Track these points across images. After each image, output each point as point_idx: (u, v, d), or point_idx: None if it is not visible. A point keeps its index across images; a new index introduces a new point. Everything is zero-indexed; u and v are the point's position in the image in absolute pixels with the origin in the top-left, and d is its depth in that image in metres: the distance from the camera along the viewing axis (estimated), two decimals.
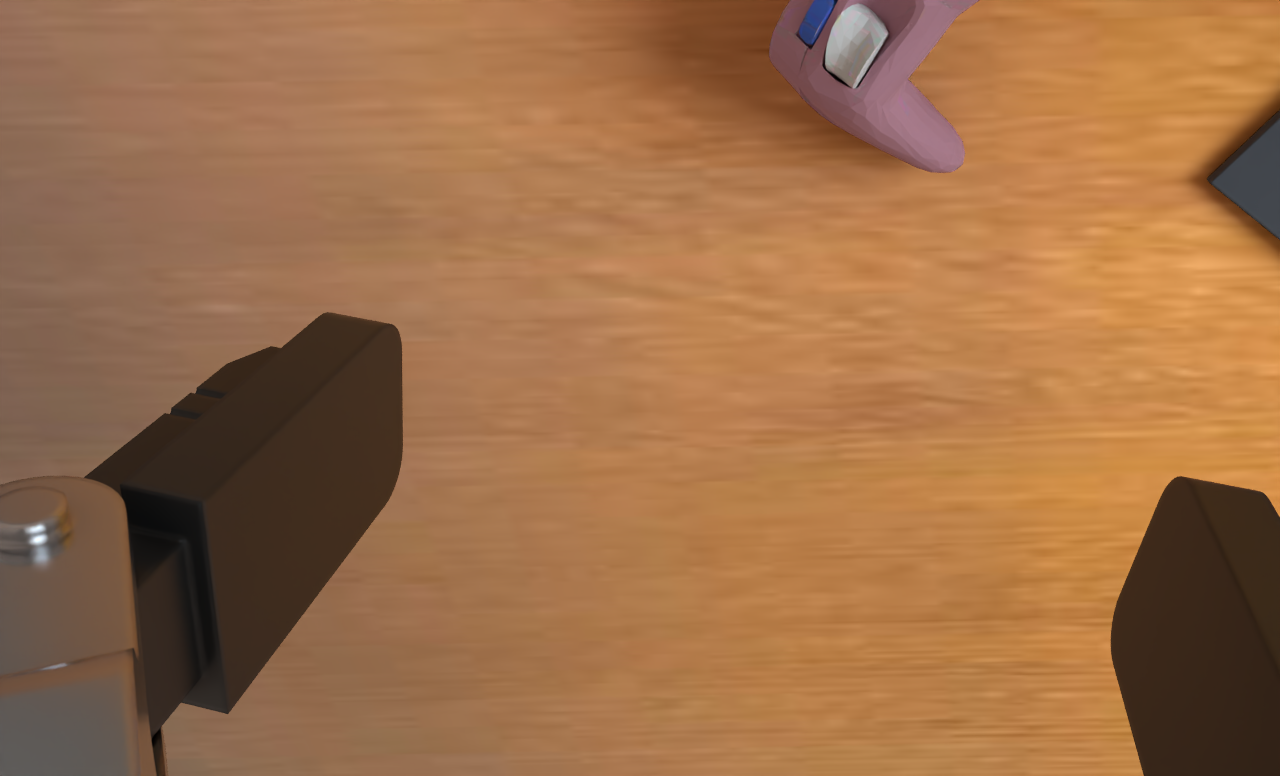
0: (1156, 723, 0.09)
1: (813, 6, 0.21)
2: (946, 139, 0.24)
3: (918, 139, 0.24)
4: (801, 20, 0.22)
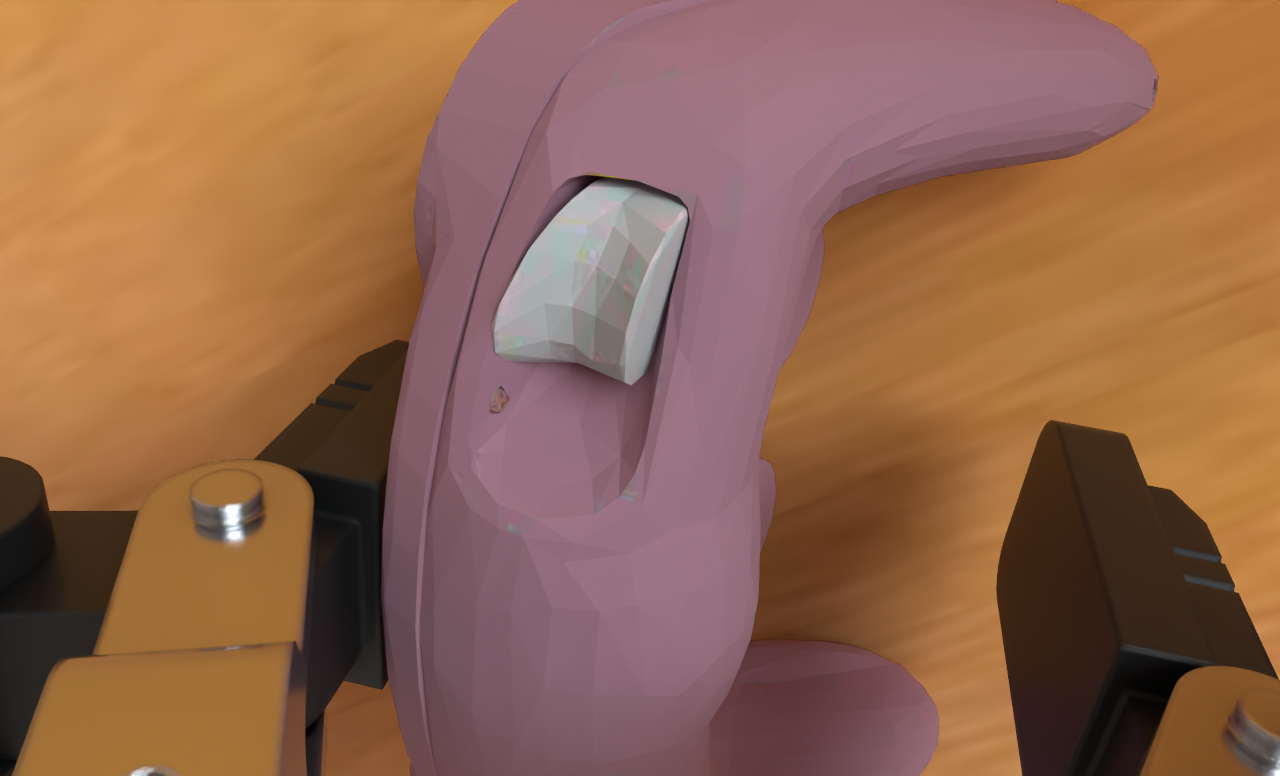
0: (1021, 646, 0.10)
1: None
2: (872, 760, 0.12)
3: None
4: None
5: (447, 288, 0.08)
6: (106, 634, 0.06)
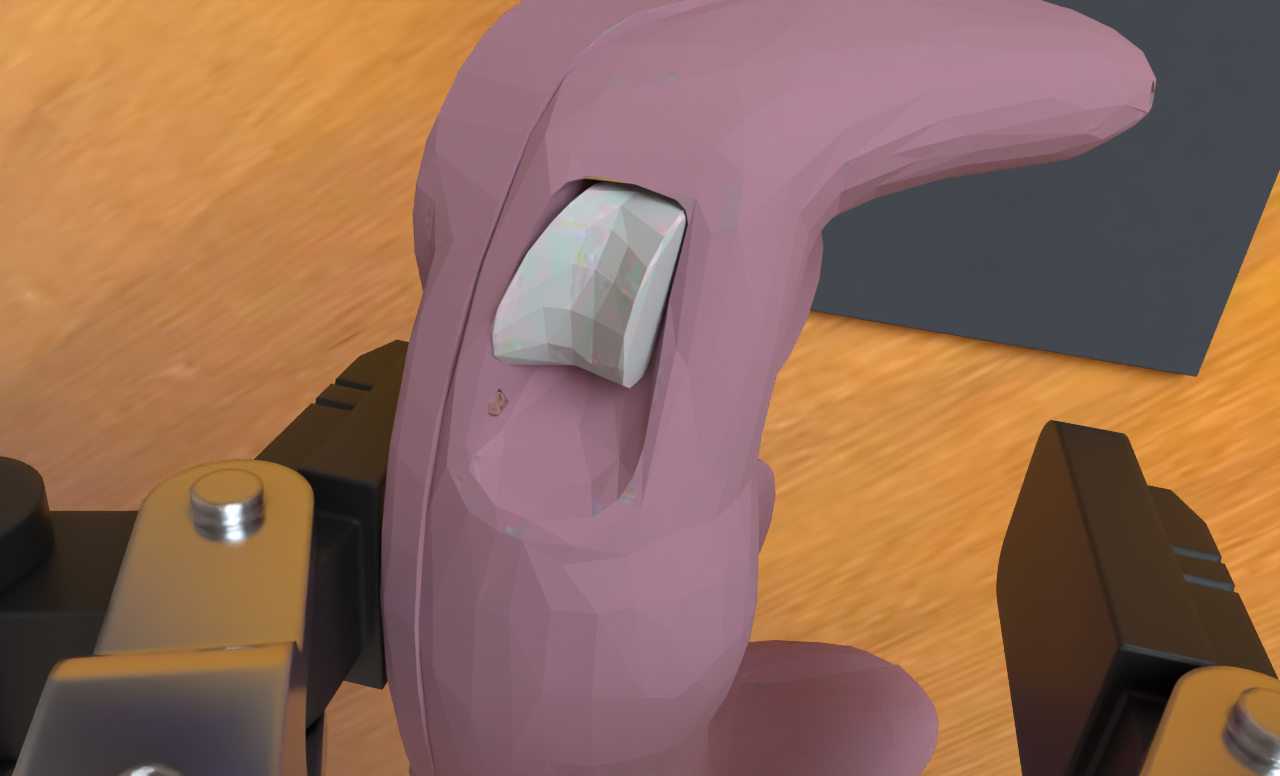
0: (1021, 646, 0.10)
1: None
2: (871, 761, 0.13)
3: None
4: None
5: (446, 291, 0.08)
6: (106, 634, 0.06)
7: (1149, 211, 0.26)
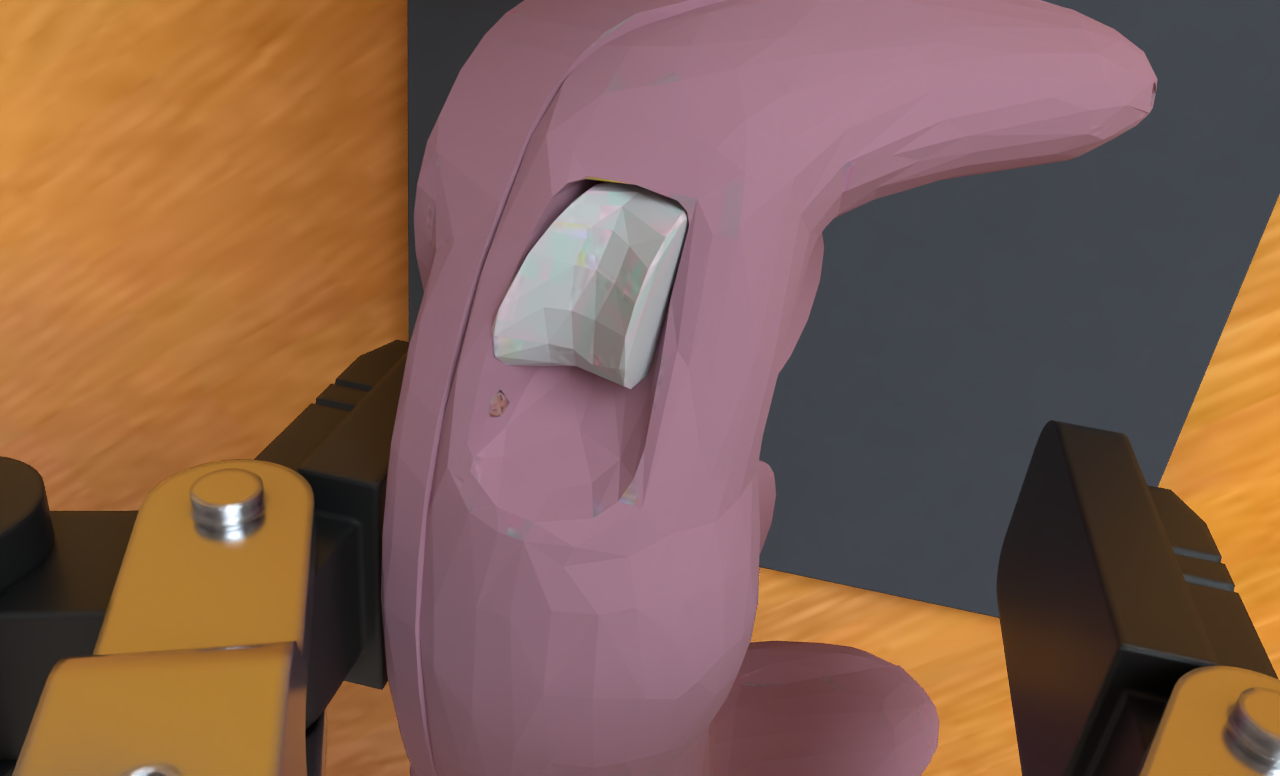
0: (1021, 646, 0.10)
1: None
2: (872, 762, 0.12)
3: None
4: None
5: (447, 292, 0.08)
6: (106, 634, 0.06)
7: (1023, 430, 0.18)
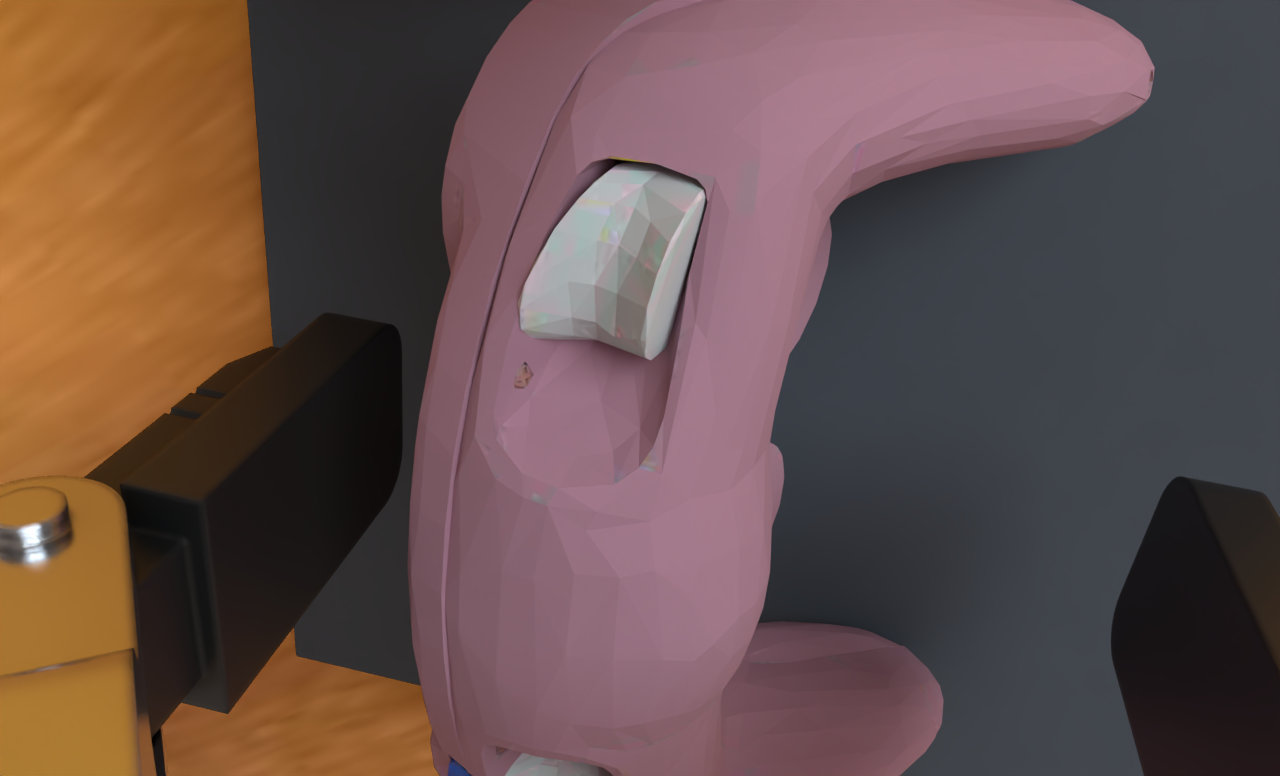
0: (1156, 722, 0.09)
1: None
2: (878, 736, 0.13)
3: None
4: None
5: (474, 268, 0.08)
6: None
7: (1073, 615, 0.14)
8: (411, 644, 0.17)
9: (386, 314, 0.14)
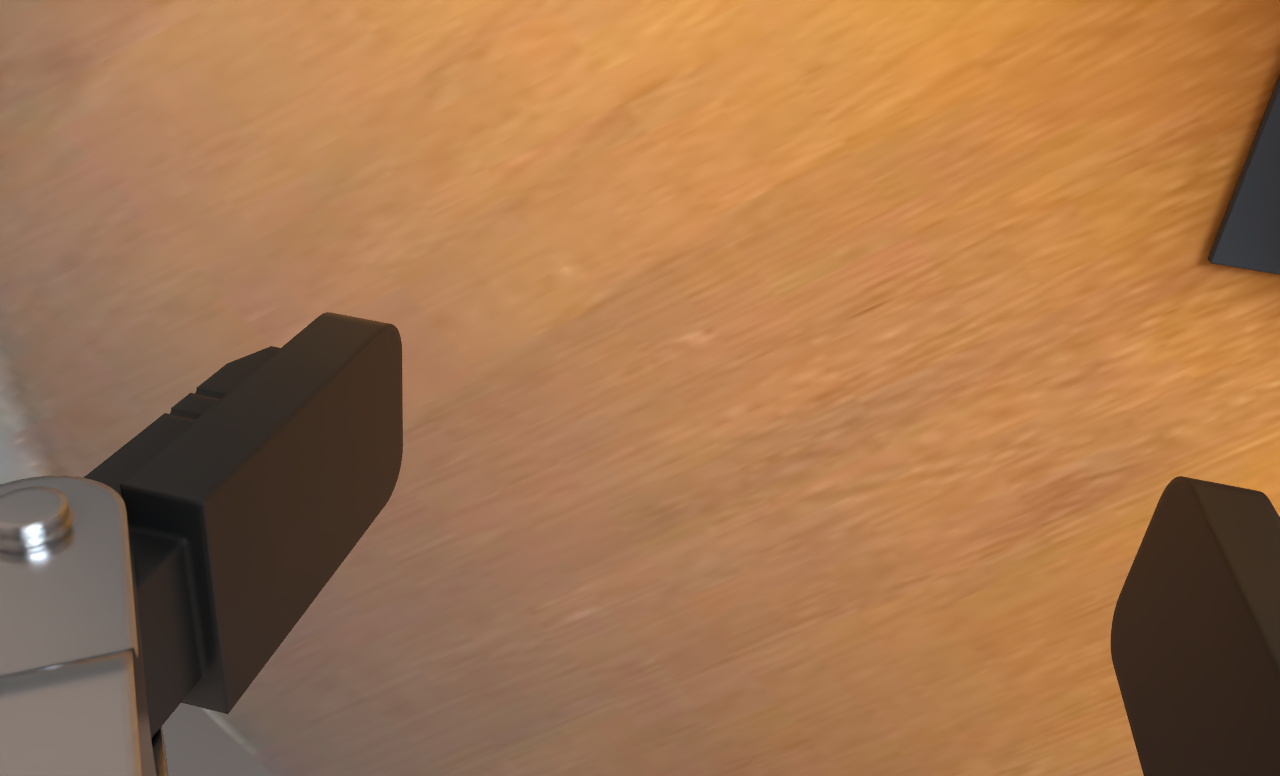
0: (1156, 723, 0.09)
1: None
2: None
3: None
4: None
5: None
6: None
7: None
8: None
9: None
